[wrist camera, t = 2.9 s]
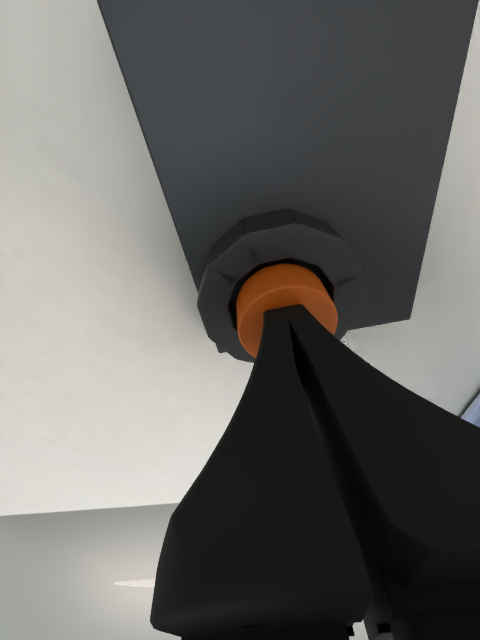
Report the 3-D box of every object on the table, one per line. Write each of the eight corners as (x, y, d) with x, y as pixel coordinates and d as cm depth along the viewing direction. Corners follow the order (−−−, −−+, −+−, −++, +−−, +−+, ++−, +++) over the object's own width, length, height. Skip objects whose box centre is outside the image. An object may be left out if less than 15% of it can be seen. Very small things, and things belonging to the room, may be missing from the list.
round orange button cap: (325, 328, 12) (338, 356, 11) (245, 343, 12) (247, 371, 11) (323, 253, 10) (339, 275, 9) (227, 273, 10) (227, 298, 9)
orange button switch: (396, 304, 15) (432, 343, 12) (219, 337, 16) (217, 379, 13) (465, -94, 7) (596, -208, 5) (112, 12, 8) (60, -35, 6)
